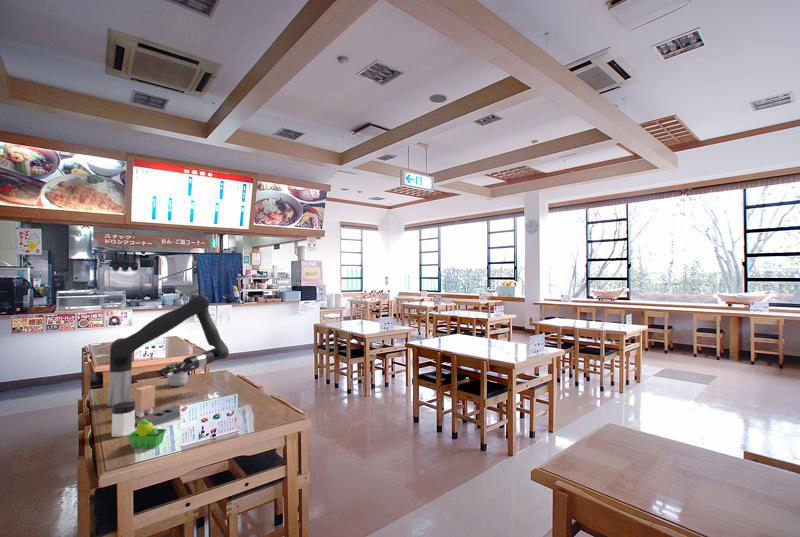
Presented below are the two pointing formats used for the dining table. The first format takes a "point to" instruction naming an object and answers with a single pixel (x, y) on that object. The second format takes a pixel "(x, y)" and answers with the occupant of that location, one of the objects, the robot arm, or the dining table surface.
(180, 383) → the teacup
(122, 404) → the jar
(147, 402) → the light brown rectangular block
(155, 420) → the grey flat block
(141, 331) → the robot arm
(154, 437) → the fruit basket
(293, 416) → the dining table surface
